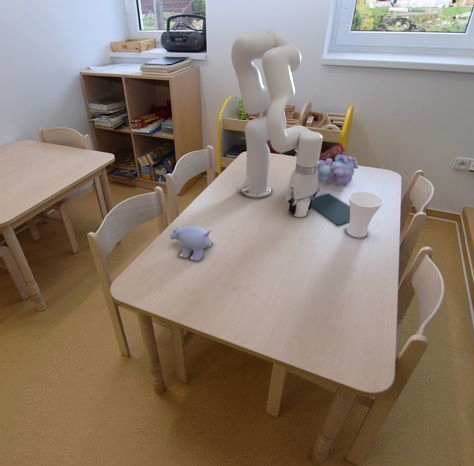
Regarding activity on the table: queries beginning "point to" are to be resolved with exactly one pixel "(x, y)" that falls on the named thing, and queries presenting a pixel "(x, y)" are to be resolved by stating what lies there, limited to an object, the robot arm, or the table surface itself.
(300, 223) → the table surface
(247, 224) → the table surface
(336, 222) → the mat
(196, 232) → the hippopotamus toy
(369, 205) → the cup
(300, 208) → the shot glass
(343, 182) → the pastel bubbly cloud
